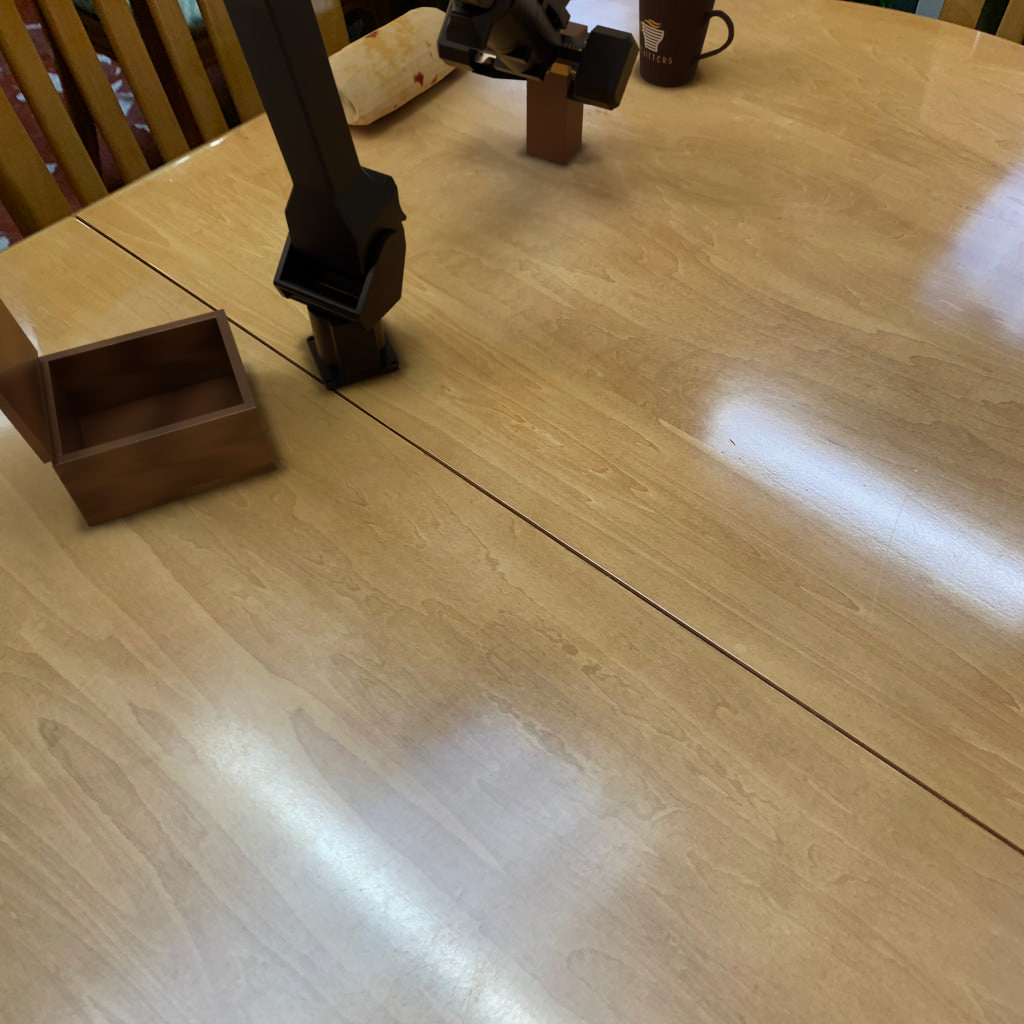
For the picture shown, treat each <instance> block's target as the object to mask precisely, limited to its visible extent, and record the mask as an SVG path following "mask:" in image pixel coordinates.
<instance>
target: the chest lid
mask: <svg viewBox="0 0 1024 1024" xmlns="http://www.w3.org/2000/svg"><path fill="white" fill-rule="evenodd" d="M39 357H40V356H39V351H38V349H37V348H36V347H35V345H34V344H33V342H32V341H31V340H30V338H29V336H28V335H27V333H26V332H25V331H24V330H23V328H22V326H21V325H20V324H19V323H18V321H17V319H15V316H14V315H13V314H12V313H11V311H10V310H9V308H8V307H7V305H6V304H5V302H4V301H3V300H2V298H1V297H0V411H1V412H2V414H3V415H4V416H5V417H6V419H7V420H8V421H9V422H10V424H11V425H12V426H13V427H14V429H15V430H16V431H17V432H18V434H19V435H20V436H21V438H22V439H23V440H24V441H25V443H26V444H27V445H28V446H29V447H30V448H31V450H32V451H33V452H34V454H35V455H36V456H37V457H38V458H39V459H40V461H41V462H42V463H43V464H47V463H50V462H51V461H53V460H54V459H53V452H52V445H51V438H50V431H49V425H48V418H47V411H46V404H45V397H44V391H43V384H42V377H41V370H40V363H39Z"/></svg>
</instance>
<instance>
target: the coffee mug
mask: <svg viewBox="0 0 1024 1024" xmlns="http://www.w3.org/2000/svg"><path fill="white" fill-rule="evenodd" d="M715 3H716V0H638V34H639V35H638V36H639V37H638V39H639V41H638V42H639V43H638V44H639V45H638V47H639V49H640V50H639V75H640V77H641V79H643V80H644V81H645V82H647V83H648V84H651V85H654V86H657V87H662V88H676V87H677V88H678V87H682V86H686V85H687V84H690V83H692V81H693V80H694V79H695V77H696V75H697V74H696V73H697V70H698V67H699V63H700V61H701V60H705V59H708V58H711V57H713V56H716V55H719V54H720V53H722V52H723V51H725V50H727V48H729V47H730V45H731V44H732V42H733V41H734V38H735V25H734V22H733V20H732V18H731V17H730V16H729V14H727V13H726V12H725V11H723V10H721V9H714V7H715ZM713 17H718V18H720V19H721V20H723V22H724V23H725V24H726V27H727V32H728V33H727V34H728V35H727V39H726V41H725V42H724V44H722V45H721V46H720V47H718V48H715V49H713V50H710V51H707V52H704V53H702V52H703V48H704V44H705V40H706V37H707V32H708V30H709V25H710V22H711V19H712V18H713Z"/></svg>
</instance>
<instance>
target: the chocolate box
mask: <svg viewBox="0 0 1024 1024" xmlns="http://www.w3.org/2000/svg"><path fill="white" fill-rule="evenodd" d="M588 30H589V26H588V25H586V24H583V23H579V22H578V23H577V22H574V21H571V20H569V23H568V26H567V29H566V30H564V29H561V31H560V33H561V34H565V35H569V36H573V37H577V38H580V37H581V36H582V35H583V34H584V33H587V32H589V31H588ZM563 47H564V46H563ZM567 48H568V46H567ZM571 49H572V47H571ZM574 50H576V48H575V49H574ZM579 50H580V51H582V50H581V49H579ZM570 69H571V66H567V65H564V64H560V63H556V62H554V64H553V65H552V68H551V71H550V72H549V73H546V75H545V77H544V80H543V82H540V81H536V80H532V79H529V78H527V81H526V120H525V121H526V127H525V129H526V131H525V133H526V136H525V137H526V138H525V139H526V140H525V141H526V145H525V146H526V147H525V152H526V153H525V154H526V155H529V156H532V157H536V158H538V159H542V160H545V161H548V162H552V163H556V164H558V165H562V166H565V165H566V164H567V163H568V162H569V161H570V159H572V158H573V157H574V155H575V154H576V153H577V152H578V151H579V150H580V149H581V148H582V143H583V125H584V124H583V123H584V106H585V104H583V103H580V102H576V101H572V100H569V99H566V95H567V92H568V89H569V86H570V83H571V80H572V78H573V75H574V74H572V73H571V71H570Z"/></svg>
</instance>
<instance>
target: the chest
mask: <svg viewBox="0 0 1024 1024" xmlns="http://www.w3.org/2000/svg"><path fill="white" fill-rule="evenodd" d="M38 357H39V363H40V370H41V377H42V384H43V391H44V397H45V404H46V411H47V418H48V425H49V431H50V438H51V445H52V452H53V459H54V460H53V461H50V462H51V463H50V464H51V467H52V469H53V471H54V472H55V474H56V475H57V477H58V478H59V480H60V481H61V483H62V486H64V488H65V490H66V491H67V493H68V494H69V496H70V498H71V499H72V501H73V503H74V505H76V508H77V509H78V510H79V512H80V514H81V515H82V517H83V518H84V521H85V522H86V524H87V525H88V527H91V526H94V525H98V524H101V523H104V522H108V521H110V520H113V519H118V518H121V517H125V516H127V515H130V514H133V513H136V512H141V511H143V510H146V509H150V508H153V507H156V506H160V505H163V504H167V503H170V502H173V501H176V500H179V499H183V498H187V497H190V496H192V495H196V494H199V493H202V492H206V491H209V490H212V489H216V488H218V487H222V486H226V485H229V484H232V483H235V482H239V481H242V480H246V479H249V478H251V477H256V476H259V475H262V474H265V473H269V472H271V471H274V470H278V465H277V462H276V459H275V456H274V453H273V450H272V446H271V443H270V441H269V437H268V435H267V432H266V429H265V425H264V423H263V422H264V421H263V419H262V416H261V414H260V413H261V412H260V410H259V408H258V403H257V402H256V399H255V395H254V393H253V390H252V388H251V384H250V380H249V377H248V376H247V372H246V370H245V366H244V363H243V361H242V357H241V354H240V352H239V349H238V346H237V342H236V340H235V337H234V333H233V330H232V328H231V325H230V321H229V319H228V317H227V313H226V311H225V309H224V308H220V309H217V310H213V311H209V312H204V313H201V314H198V315H194V316H189V317H186V318H182V319H177V320H175V321H171V322H167V323H163V324H159V325H155V326H151V327H148V328H143V329H140V330H136V331H132V332H129V333H125V334H121V335H118V336H113V337H109V338H106V339H101V340H97V341H94V342H90V343H87V344H82V345H79V346H74V347H71V348H68V349H64V350H59V351H56V352H52V353H48V354H44V355H40V356H38Z"/></svg>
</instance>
